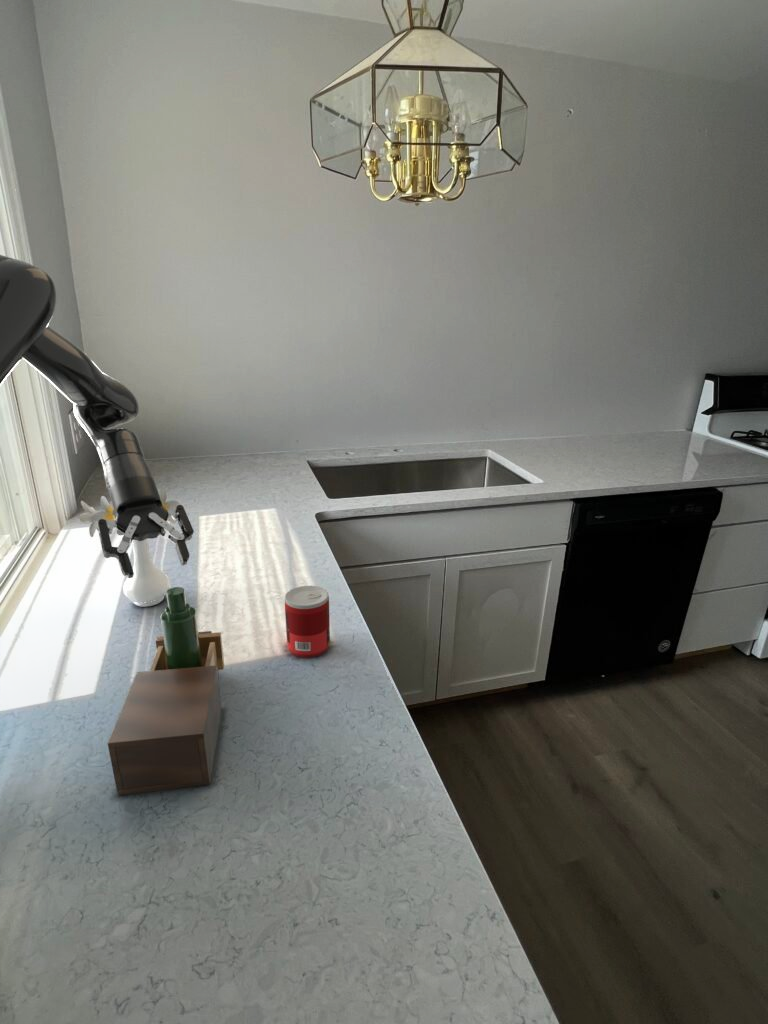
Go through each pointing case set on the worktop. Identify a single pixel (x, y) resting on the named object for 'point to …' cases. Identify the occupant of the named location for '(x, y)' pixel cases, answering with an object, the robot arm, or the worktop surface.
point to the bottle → (180, 632)
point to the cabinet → (167, 730)
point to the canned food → (307, 621)
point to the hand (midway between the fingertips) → (158, 569)
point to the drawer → (208, 647)
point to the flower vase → (136, 556)
